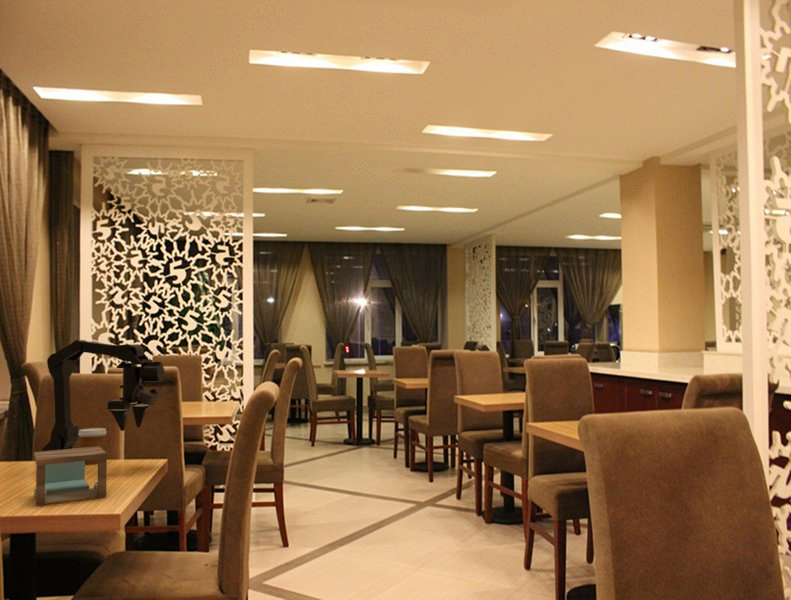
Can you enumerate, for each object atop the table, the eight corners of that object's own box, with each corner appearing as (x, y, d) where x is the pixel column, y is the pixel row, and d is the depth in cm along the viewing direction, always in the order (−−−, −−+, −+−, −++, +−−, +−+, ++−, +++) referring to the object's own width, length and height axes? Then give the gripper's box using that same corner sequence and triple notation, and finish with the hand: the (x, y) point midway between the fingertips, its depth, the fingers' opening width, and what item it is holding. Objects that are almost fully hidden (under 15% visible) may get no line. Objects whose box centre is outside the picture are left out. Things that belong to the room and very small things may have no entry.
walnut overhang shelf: (33, 495, 188) (34, 452, 188) (99, 487, 196) (99, 446, 197) (36, 506, 174) (37, 459, 175) (106, 497, 183) (106, 453, 183)
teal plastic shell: (43, 487, 198) (43, 457, 199) (84, 483, 204) (84, 453, 204) (46, 496, 186) (46, 463, 187) (89, 491, 192) (89, 459, 192)
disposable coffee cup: (79, 466, 232) (79, 431, 233) (76, 462, 240) (76, 429, 241) (108, 463, 237) (109, 429, 238) (104, 459, 245) (104, 427, 246)
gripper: (137, 383, 212) (136, 433, 211) (168, 380, 230) (167, 425, 229) (106, 383, 214) (105, 432, 213) (139, 380, 232) (138, 425, 231)
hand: (130, 428), depth 222 cm, fingers open, 9 cm apart
